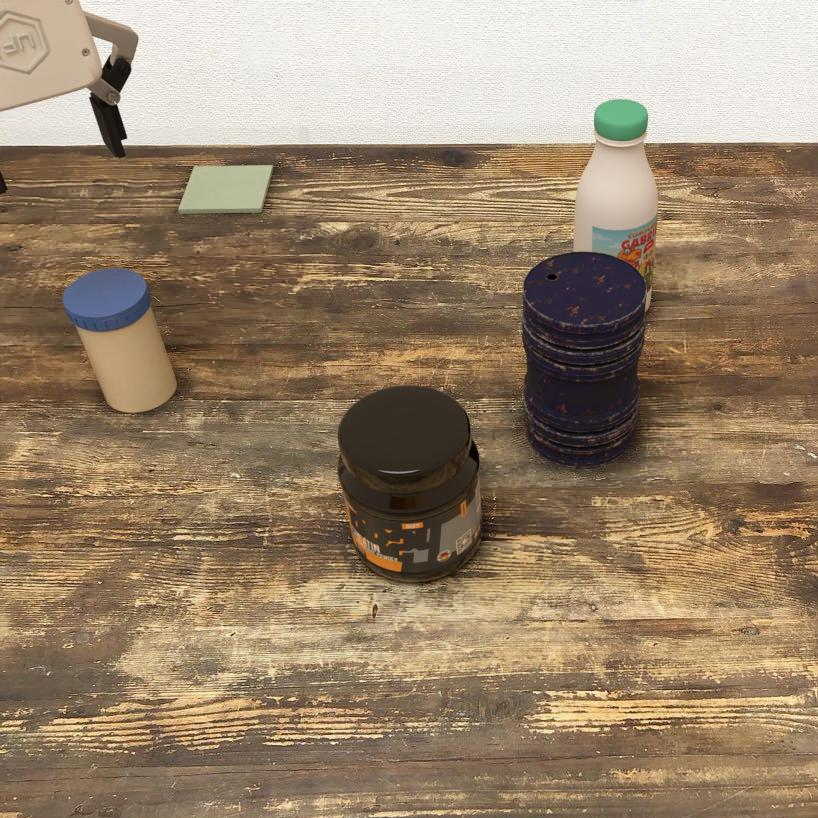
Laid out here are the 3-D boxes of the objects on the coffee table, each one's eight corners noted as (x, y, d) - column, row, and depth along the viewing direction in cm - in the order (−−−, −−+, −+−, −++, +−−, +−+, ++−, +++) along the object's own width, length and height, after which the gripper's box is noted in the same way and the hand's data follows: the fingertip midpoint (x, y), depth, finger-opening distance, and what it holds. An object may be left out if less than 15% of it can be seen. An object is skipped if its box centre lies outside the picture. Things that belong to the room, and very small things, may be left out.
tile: (179, 214, 117) (177, 209, 116) (195, 170, 123) (194, 165, 122) (261, 212, 117) (260, 208, 116) (273, 169, 123) (272, 164, 122)
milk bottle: (560, 317, 104) (562, 122, 89) (588, 274, 109) (594, 82, 94) (635, 336, 102) (650, 139, 87) (660, 291, 107) (678, 97, 92)
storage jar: (655, 413, 95) (669, 271, 84) (607, 484, 89) (615, 341, 78) (555, 379, 98) (556, 238, 87) (503, 445, 93) (497, 303, 81)
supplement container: (328, 528, 86) (302, 417, 77) (437, 471, 90) (424, 360, 81) (398, 610, 81) (379, 501, 72) (510, 546, 85) (506, 435, 76)
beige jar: (119, 422, 95) (81, 329, 87) (95, 383, 98) (56, 290, 91) (187, 395, 97) (156, 302, 89) (161, 358, 101) (130, 265, 93)
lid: (83, 342, 88) (77, 327, 86) (56, 300, 91) (50, 285, 90) (164, 313, 90) (159, 298, 89) (135, 273, 94) (130, 258, 93)
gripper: (-171, -34, 63) (-47, 227, 76) (117, -95, 69) (185, 155, 82) (-195, -73, 67) (-73, 180, 80) (79, -128, 73) (150, 115, 86)
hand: (57, 166), depth 81 cm, fingers open, 8 cm apart
